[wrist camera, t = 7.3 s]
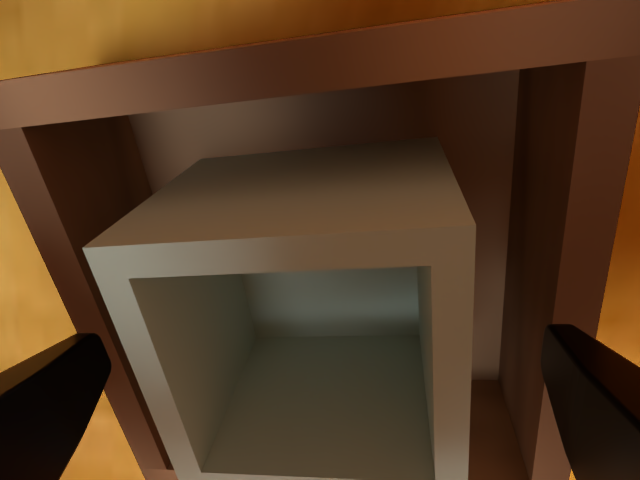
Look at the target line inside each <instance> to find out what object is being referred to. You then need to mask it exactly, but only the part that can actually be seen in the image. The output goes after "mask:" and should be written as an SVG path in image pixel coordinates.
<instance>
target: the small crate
mask: <svg viewBox="0 0 640 480" xmlns="http://www.w3.org/2000/svg"><path fill="white" fill-rule="evenodd" d="M475 247H476V224H475V221H474V219H473V217H472V214H471V212H470V210H469V208H468V205H467V203H466V201H465V199H464V196H463V194H462V192H461V190H460V187H459V185H458V183H457V180H456V178H455V176H454V174H453V171H452V169H451V167H450V165H449V162H448V160H447V158H446V155H445V153H444V151H443V149H442V146H441V144H440V142H439V140H438V137H428V138H418V139H407V140H396V141H386V142H375V143H364V144H354V145H343V146H332V147H322V148H311V149H300V150H290V151H279V152H269V153H258V154H247V155H237V156H226V157H215V158H205V159H200V160H198V161H197V162H196V163H195V164H193V165H192V166H191V167H189V168H188V169H187V170H185V171H184V172H183V173H181V174H180V175H179V176H177V177H176V178H175V179H173V180H172V181H171V182H169V183H168V184H167V185H165V186H164V187H163V188H161V189H160V190H159V191H157V192H156V193H155V194H153V195H152V196H151V197H149V198H148V199H147V200H145V201H144V202H143V203H141V204H140V205H139V206H137V207H136V208H135V209H133V210H132V211H131V212H129V213H128V214H127V215H125V216H124V217H123V218H121V219H120V220H119V221H117V222H116V223H115V224H113V225H112V226H111V227H109V228H108V229H107V230H105V231H104V232H103V233H101V234H100V235H99V236H97V237H96V238H95V239H93V240H92V241H91V242H89V243H88V244H87V245H85V246H84V247H83V248H82V249H83V251H84V254H85V256H86V259H87V261H88V263H89V266H90V268H91V271H92V273H93V275H94V278H95V280H96V283H97V285H98V287H99V290H100V292H101V295H102V297H103V299H104V302H105V304H106V307H107V309H108V312H109V314H110V316H111V319H112V321H113V324H114V326H115V328H116V331H117V333H118V336H119V338H120V340H121V343H122V345H123V348H124V350H125V353H126V355H127V357H128V360H129V362H130V365H131V367H132V369H133V372H134V374H135V377H136V379H137V381H138V384H139V386H140V389H141V391H142V393H143V396H144V398H145V401H146V403H147V406H148V408H149V410H150V413H151V415H152V418H153V420H154V422H155V425H156V427H157V430H158V432H159V434H160V437H161V439H162V442H163V444H164V447H165V449H166V451H167V454H168V456H169V459H170V461H171V463H172V466H173V468H174V471H175V473H176V475H177V478H178V480H468V465H469V433H470V402H471V371H472V340H473V309H474V278H475Z"/></svg>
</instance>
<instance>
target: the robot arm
mask: <svg viewBox="0 0 640 480" xmlns="http://www.w3.org/2000/svg"><path fill="white" fill-rule="evenodd" d="M540 362H541V371H542V375H543V378H544V382H545V385H546V389H547V392H548V396H549V399H550V403H551V406H552V410H553V413H554V417H555V420H556V423H557V427H558V430H559V434H560V437H561V441H562V444H563V447H564V450H565V453H566V456H567V459H568V461H569V464H570V466H571V469H572V471H573V474H574V476H575V478H576V480H640V367H638V366H637V365H635V364H634V363H632V362H631V361H629V360H627V359H626V358H624V357H623V356H621V355H620V354H618V353H616V352H615V351H613V350H612V349H610V348H609V347H607V346H606V345H604V344H602V343H601V342H599V341H598V340H596V339H595V338H593V337H591V336H590V335H588V334H587V333H585V332H584V331H582V330H581V329H579V328H577V327H576V326H574V325H572V324H548V325H547V326H546V327H545V329H544V335H543V343H542V351H541V360H540ZM111 368H112V364H111V360H110V358H109V355H108V353H107V351H106V349H105V346H104V344H103V342H102V339H101V337H100V336H99V335H98V334H96V333H77V334H75V335H73V336H71V337H69V338H67V339H65V340H63V341H61V342H59V343H57V344H55V345H53V346H51V347H49V348H48V349H46V350H44V351H42V352H40V353H38V354H36V355H34V356H32V357H30V358H28V359H26V360H24V361H22V362H20V363H19V364H17V365H15V366H13V367H11V368H9V369H7V370H5V371H3V372H1V373H0V480H59V479H60V477H61V476H62V474H63V472H64V470H65V468H66V466H67V465H68V463H69V461H70V459H71V457H72V456H73V454H74V452H75V450H76V448H77V446H78V444H79V442H80V441H81V439H82V436H83V434H84V432H85V430H86V428H87V426H88V423H89V421H90V419H91V416H92V414H93V412H94V410H95V407H96V405H97V403H98V401H99V398H100V396H101V394H102V391H103V389H104V387H105V385H106V382H107V380H108V378H109V376H110V373H111Z"/></svg>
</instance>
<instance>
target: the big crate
mask: <svg viewBox="0 0 640 480" xmlns="http://www.w3.org/2000/svg"><path fill="white" fill-rule="evenodd" d="M639 106H640V0H556V1H549V2H542V3H535V4H528V5H521V6H514V7H507V8H499V9H492V10H485V11H478V12H471V13H464V14H457V15H450V16H443V17H436V18H428V19H421V20H414V21H407V22H400V23H393V24H386V25H379V26H372V27H365V28H357V29H350V30H343V31H336V32H329V33H322V34H315V35H308V36H301V37H294V38H286V39H279V40H272V41H265V42H258V43H251V44H244V45H237V46H230V47H223V48H216V49H208V50H201V51H194V52H187V53H180V54H173V55H166V56H159V57H152V58H145V59H137V60H130V61H123V62H116V63H109V64H102V65H95V66H89V67H82V68H76V69H70V70H63V71H57V72H50V73H44V74H38V75H31V76H25V77H19V78H12V79H6V80H0V168H1V170H2V172H3V174H4V176H5V178H6V181H7V183H8V185H9V187H10V189H11V191H12V193H13V196H14V198H15V200H16V202H17V204H18V206H19V209H20V211H21V213H22V215H23V217H24V219H25V221H26V224H27V226H28V228H29V230H30V232H31V234H32V236H33V239H34V241H35V243H36V245H37V247H38V249H39V252H40V254H41V256H42V258H43V260H44V262H45V264H46V267H47V269H48V271H49V273H50V275H51V277H52V280H53V282H54V284H55V286H56V288H57V290H58V292H59V295H60V297H61V299H62V301H63V303H64V305H65V307H66V310H67V312H68V314H69V316H70V318H71V320H72V323H73V325H74V327H75V329H76V331H77V333H96V334H98V335H99V336H100V337H101V339H102V342H103V344H104V346H105V349H106V351H107V353H108V355H109V358H110V360H111V364H112V368H111V373H110V376H109V378H108V380H107V382H106V385H105V387H104V391H105V394H106V396H107V398H108V400H109V402H110V404H111V406H112V409H113V411H114V413H115V415H116V417H117V419H118V422H119V424H120V426H121V428H122V430H123V432H124V434H125V437H126V439H127V441H128V443H129V445H130V447H131V449H132V452H133V454H134V456H135V458H136V460H137V462H138V465H139V467H140V469H141V471H142V473H143V475H144V477H145V480H178V478H177V475H176V473H175V471H174V468H173V466H172V463H171V461H170V459H169V456H168V454H167V451H166V449H165V447H164V444H163V442H162V439H161V437H160V434H159V432H158V430H157V427H156V425H155V422H154V420H153V418H152V415H151V413H150V410H149V408H148V406H147V403H146V401H145V398H144V396H143V393H142V391H141V389H140V386H139V384H138V381H137V379H136V377H135V374H134V372H133V369H132V367H131V365H130V362H129V360H128V357H127V355H126V353H125V350H124V348H123V345H122V343H121V340H120V338H119V336H118V333H117V331H116V328H115V326H114V324H113V321H112V319H111V316H110V314H109V312H108V309H107V307H106V304H105V302H104V299H103V297H102V295H101V292H100V290H99V287H98V285H97V283H96V280H95V278H94V275H93V273H92V271H91V268H90V266H89V263H88V261H87V259H86V256H85V254H84V251H83V249H82V248H83V247H84V246H85V245H87V244H88V243H89V242H91V241H92V240H93V239H95V238H96V237H97V236H99V235H100V234H101V233H103V232H104V231H105V230H107V229H108V228H109V227H111V226H112V225H113V224H115V223H116V222H117V221H119V220H120V219H121V218H123V217H124V216H125V215H127V214H128V213H129V212H131V211H132V210H133V209H135V208H136V207H137V206H139V205H140V204H141V203H143V202H144V201H145V200H147V199H148V198H149V197H151V196H152V195H153V194H155V193H156V192H157V191H159V190H160V189H161V188H163V187H164V186H165V185H167V184H168V183H169V182H171V181H172V180H173V179H175V178H176V177H177V176H179V175H180V174H181V173H183V172H184V171H185V170H187V169H188V168H189V167H191V166H192V165H193V164H195V163H196V162H197V161H198V160H200V159H205V158H215V157H226V156H237V155H247V154H258V153H269V152H279V151H290V150H300V149H311V148H322V147H332V146H343V145H354V144H364V143H375V142H386V141H396V140H407V139H418V138H428V137H438V140H439V142H440V144H441V146H442V149H443V151H444V153H445V155H446V158H447V160H448V162H449V165H450V167H451V169H452V171H453V174H454V176H455V178H456V180H457V183H458V185H459V187H460V190H461V192H462V194H463V196H464V199H465V201H466V203H467V205H468V208H469V210H470V212H471V214H472V217H473V219H474V221H475V224H476V247H475V278H474V309H473V340H472V371H471V402H470V433H469V465H468V480H569V477H570V472H571V466H570V464H569V461H568V459H567V456H566V453H565V450H564V447H563V444H562V441H561V437H560V434H559V430H558V427H557V423H556V420H555V417H554V413H553V410H552V406H551V403H550V399H549V396H548V392H547V389H546V385H545V382H544V378H543V375H542V371H541V362H540V360H541V351H542V343H543V335H544V329H545V327H546V326H547V325H548V324H572V325H574V326H576V327H577V328H579V329H581V330H582V331H584V332H585V333H587V334H588V335H590V336H591V337H593V338H595V339H596V334H597V329H598V323H599V318H600V313H601V307H602V302H603V297H604V292H605V286H606V281H607V276H608V270H609V265H610V260H611V254H612V249H613V244H614V238H615V233H616V228H617V223H618V217H619V212H620V207H621V201H622V196H623V191H624V185H625V180H626V175H627V170H628V164H629V159H630V154H631V148H632V143H633V138H634V132H635V127H636V122H637V117H638V111H639Z"/></svg>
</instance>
